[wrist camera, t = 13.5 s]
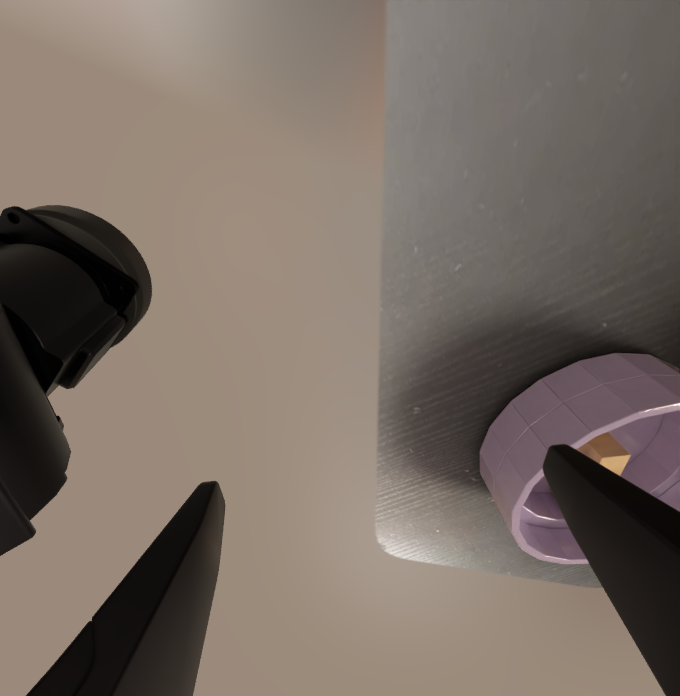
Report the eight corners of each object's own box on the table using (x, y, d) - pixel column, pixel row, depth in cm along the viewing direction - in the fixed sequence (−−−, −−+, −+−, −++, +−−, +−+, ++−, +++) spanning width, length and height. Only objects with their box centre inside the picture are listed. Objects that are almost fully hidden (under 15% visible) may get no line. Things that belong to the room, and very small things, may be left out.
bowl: (435, 449, 27) (463, 516, 22) (624, 304, 22) (713, 351, 17) (542, 520, 33) (581, 585, 28) (709, 420, 28) (792, 478, 23)
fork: (577, 486, 30) (603, 519, 27) (544, 489, 29) (567, 523, 27) (623, 377, 24) (662, 407, 21) (583, 381, 24) (617, 411, 21)
